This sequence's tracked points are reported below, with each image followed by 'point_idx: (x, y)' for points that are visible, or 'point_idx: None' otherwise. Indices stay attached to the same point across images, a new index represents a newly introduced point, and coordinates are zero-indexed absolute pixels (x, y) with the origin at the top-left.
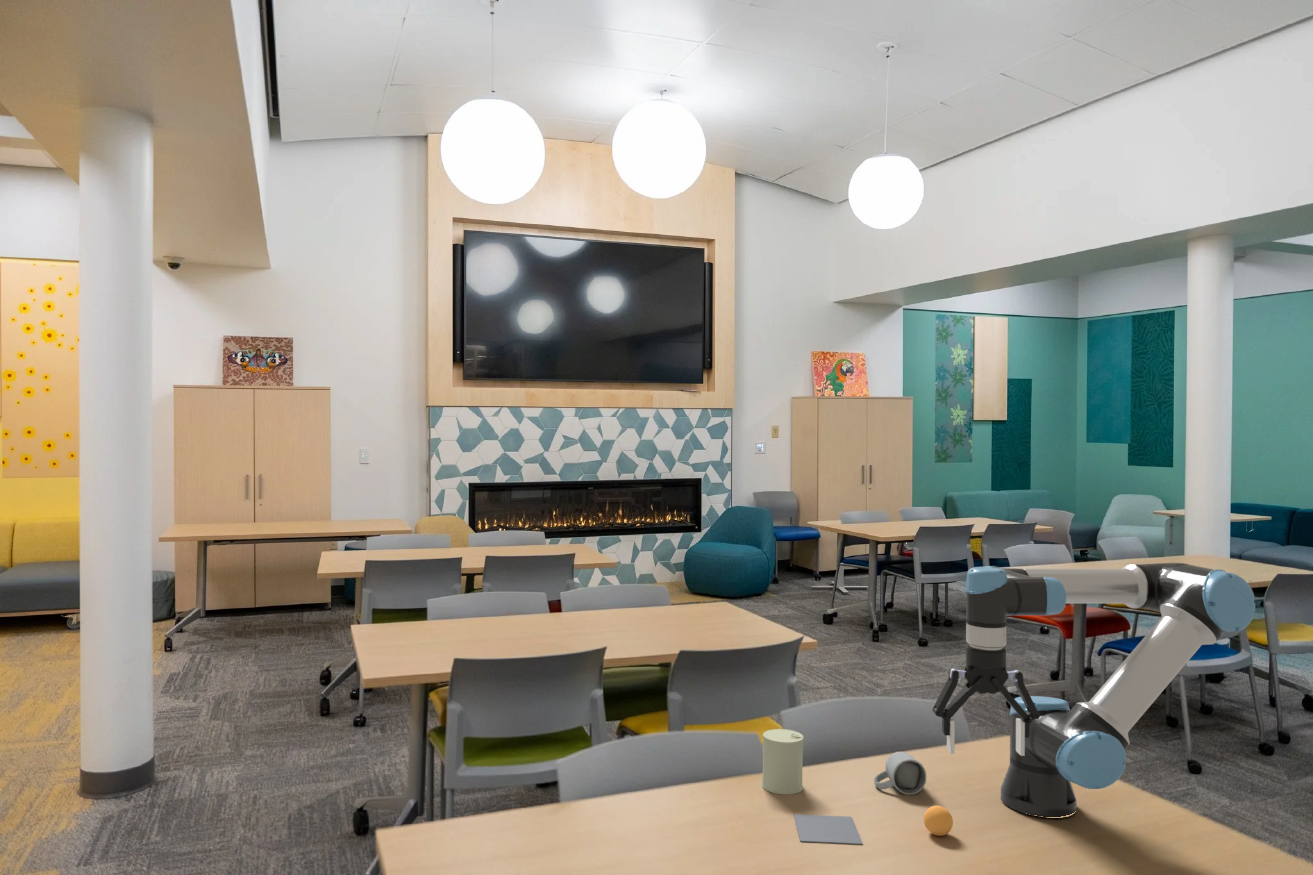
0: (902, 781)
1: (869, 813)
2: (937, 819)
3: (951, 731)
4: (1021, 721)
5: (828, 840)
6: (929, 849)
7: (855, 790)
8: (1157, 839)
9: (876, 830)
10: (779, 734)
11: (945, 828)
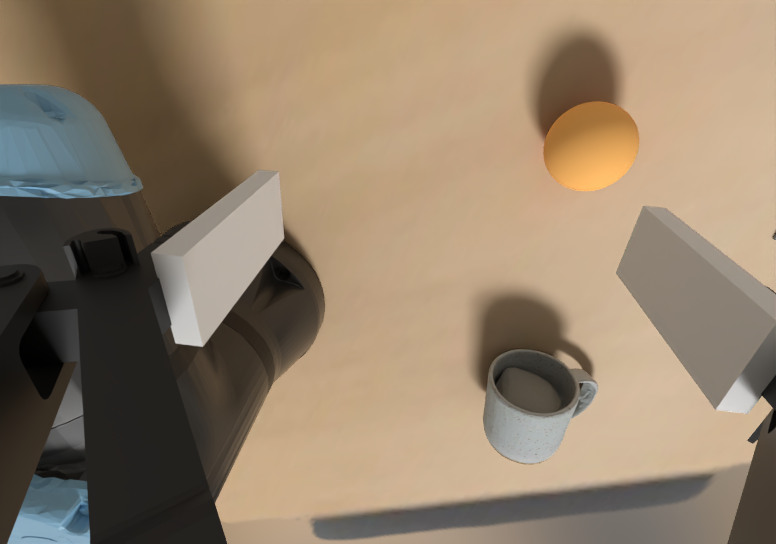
0: (540, 380)
1: None
2: (621, 113)
3: (740, 273)
4: (173, 281)
5: None
6: (667, 30)
7: (650, 373)
8: None
9: (754, 161)
10: None
11: (589, 102)
